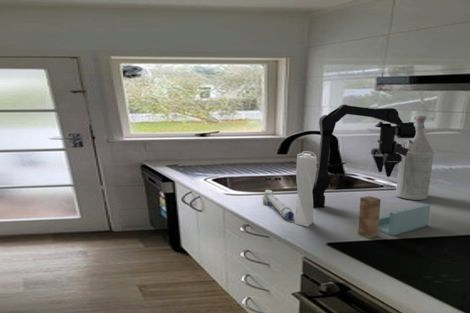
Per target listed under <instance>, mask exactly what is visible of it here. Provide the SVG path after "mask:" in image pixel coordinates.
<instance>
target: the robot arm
mask: <svg viewBox="0 0 470 313" xmlns="http://www.w3.org/2000/svg"><path fill="white" fill-rule="evenodd" d="M346 115H350V116H357V117H366V118H373V119H376V120H378V121H379V122H377V124H376V125H374V127H376V128H379V139H377V143H379V145H378V148H377V147H373V148H371V152H370V154H371V155H372V158H373V161H374V163H375V166H376V167H377V168H376V169H377V171H378V173H382V171H383V170H384V171H385V175H386V177H387V178H390V177H391V175H392V172H394V171H393V170H394V168H395V166H396V165H399V163H400V162H401V161H402V156H401V155H403V156H406V154H407V152H408V150H409V149H406V148H404V146H403V145H402V144H401V143H398V142H397V141H396V140H395V139H396V138H398V139H410V138H414V137H415V134H416V127H415V126H416V125H415V123H414V121H408V122H406V121H405V122H403V121H402V119H401V117H400V116H399V111H398V110H397V108H392V107H382V108H381V107H380V108H371V107H364V106H362V107H361V106H356V105H355V106H353V105H348V104H341V105H339V106H338V107H337V108H336V109H333V110H332V111H331V112H329V113H328V114H323V115H321V116H320V118H319V120H318V125H319V127H318V128H319V132H320V142H319V143H320V144H319V153H318V162H317V167H316V176H315V182H314V186H313V190H312V194H313V208H319V209H320V208H323V209H324V208H325V204H326V196H325V191H326V190H327V189H329V187H330V185H331V184H332V182H331V181H332V180H331V179H332V177H333V176H332V173H331V172H329V170H328V168H329V157H330V149H331V140H332V139H331V138H332V135H333V134H334V131H335V127H336V125H337V124H336V123H338V122H339V121H341V120H342V118H344V117H345V116H346ZM385 122H386V123H385ZM395 137H396V138H395ZM400 154H401V155H400ZM383 168H384V169H383Z"/></svg>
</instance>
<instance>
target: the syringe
mask: <svg viewBox="0 0 470 313" xmlns="http://www.w3.org/2000/svg"><path fill="white" fill-rule="evenodd" d="M261 199H262V204H263V205H266V206H271V205H272V206H274V208H275V209H277V211H278V212H279V213H280V216H281V217H282V218H284V219H285V220H286V221H290V220H291V221H292V220H293V219H295V213H294V212H293V211H292V209H291V208H290V207H289V206H287V205H285V203H284V202H282V201H281V200H280V199H278V198H277V197H276V196H275V194H274V191H272V190H271V189H265V191H264V194H263V195H262V197H261Z"/></svg>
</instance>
